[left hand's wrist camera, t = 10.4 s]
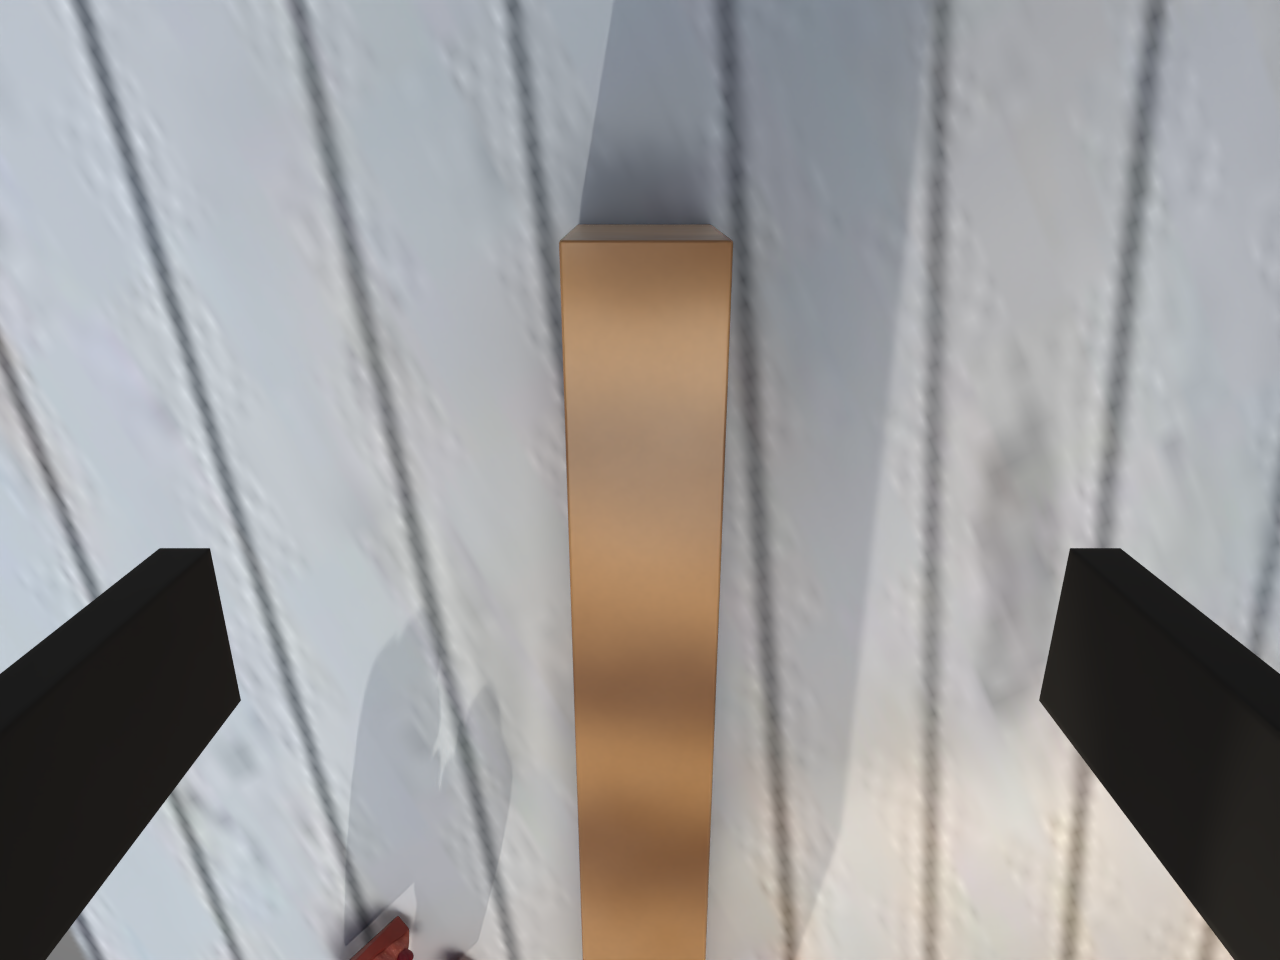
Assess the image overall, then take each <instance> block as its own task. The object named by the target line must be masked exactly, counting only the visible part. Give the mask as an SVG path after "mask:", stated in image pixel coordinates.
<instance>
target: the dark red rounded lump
mask: <svg viewBox="0 0 1280 960" xmlns="http://www.w3.org/2000/svg"><path fill="white" fill-rule="evenodd" d="M408 947H409V928H408V927H407V926H406V925H405V923H404V922H403V921H402V920H401V919H400V917H399V916H397V917H396V918H395V919H394V920H393V921H391V922H390V923H389V924H388V925H387V926H386V927H385V928H384V929H383V930H382V931H380V932H379V933H378V934H377V935H376V936H375V937H374V938H373V939H372V940H371V941H370V942H368V943H367V944H366V945H365V946H364V947H363V948H362V949H361V950H360V951H359V952H358V953H356V954H355V955H354V956H353V957H352V958H351V959H350V960H412V959H413V957H414V955H413V953H412V951H410V950H409V949H408Z"/></svg>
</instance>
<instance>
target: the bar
mask: <svg viewBox="0 0 1280 960" xmlns="http://www.w3.org/2000/svg"><path fill="white" fill-rule="evenodd" d="M559 255H560V285H561V315H562V345H563V376H564V406H565V436H566V466H567V496H568V527H569V557H570V587H571V617H572V647H573V677H574V708H575V738H576V768H577V798H578V828H579V859H580V889H581V919H582V949H583V960H705V958H706V932H707V906H708V880H709V854H710V829H711V803H712V777H713V751H714V725H715V700H716V674H717V648H718V622H719V596H720V571H721V545H722V519H723V493H724V467H725V442H726V416H727V390H728V364H729V338H730V313H731V287H732V261H733V241H732V240H731V239H729V238H728V237H727V236H725V235H724V234H723V233H721V232H720V231H719V230H717V229H716V228H715V227H714V226H712V225H710V224H579V225H577V226H576V227H575V228H574V229H572V230H571V231H570V232H569V233H568V234H567V235H566V236H565V237H564V238H562V239H561V240H560V242H559Z"/></svg>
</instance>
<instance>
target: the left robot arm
mask: <svg viewBox="0 0 1280 960" xmlns="http://www.w3.org/2000/svg"><path fill="white" fill-rule="evenodd" d="M240 701H241V699H240V694H239V689H238V684H237V679H236V674H235V669H234V665H233V660H232V655H231V650H230V645H229V640H228V635H227V630H226V625H225V620H224V615H223V610H222V605H221V601H220V596H219V591H218V586H217V581H216V576H215V571H214V566H213V561H212V556H211V551H210V548H160V549H158V550H157V551H156V552H154V553H153V554H152V555H151V556H149V557H148V558H147V559H146V560H144V561H143V562H142V563H141V564H139V565H138V566H137V567H135V568H134V569H133V570H132V571H130V572H129V573H128V574H127V575H125V576H124V577H123V578H121V579H120V580H119V581H118V582H116V583H115V584H114V585H113V586H111V587H110V588H109V589H108V590H106V591H105V592H104V593H102V594H101V595H100V596H99V597H97V598H96V599H95V600H94V601H92V602H91V603H90V604H88V605H87V606H86V607H85V608H83V609H82V610H81V611H80V612H78V613H77V614H76V615H74V616H73V617H72V618H71V619H69V620H68V621H67V622H66V623H64V624H63V625H62V626H61V627H59V628H58V629H57V630H55V631H54V632H53V633H52V634H50V635H49V636H48V637H47V638H45V639H44V640H43V641H41V642H40V643H39V644H38V645H36V646H35V647H34V648H33V649H31V650H30V651H29V652H28V653H26V654H25V655H24V656H22V657H21V658H20V659H19V660H17V661H16V662H15V663H14V664H12V665H11V666H10V667H8V668H7V669H6V670H5V671H3V672H2V673H1V674H0V960H46V959H47V957H48V956H49V955H50V953H51V952H52V950H53V949H54V948H55V947H56V945H57V944H58V943H59V941H60V940H61V939H62V937H63V936H64V935H65V933H66V932H67V931H68V929H69V928H70V927H71V925H72V924H73V923H74V921H75V920H76V919H77V917H78V916H79V915H80V913H81V912H82V911H83V909H84V908H85V907H86V905H87V904H88V903H89V901H90V900H91V899H92V897H93V896H94V895H95V893H96V892H97V891H98V889H99V888H100V887H101V885H102V884H103V883H104V881H105V880H106V879H107V878H108V876H109V875H110V874H111V872H112V871H113V870H114V868H115V867H116V866H117V864H118V863H119V862H120V860H121V859H122V858H123V856H124V855H125V854H126V852H127V851H128V850H129V848H130V847H131V846H132V844H133V843H134V842H135V840H136V839H137V838H138V836H139V835H140V834H141V832H142V831H143V830H144V828H145V827H146V826H147V824H148V823H149V822H150V820H151V819H152V818H153V816H154V815H155V814H156V812H157V811H158V810H159V808H160V807H161V806H162V804H163V803H164V802H165V800H166V799H167V798H168V796H169V795H170V794H171V792H172V791H173V790H174V788H175V787H176V786H177V785H178V783H179V782H180V781H181V779H182V778H183V777H184V775H185V774H186V773H187V771H188V770H189V769H190V767H191V766H192V765H193V763H194V762H195V761H196V759H197V758H198V757H199V755H200V754H201V753H202V751H203V750H204V749H205V747H206V746H207V745H208V743H209V742H210V741H211V739H212V738H213V737H214V735H215V734H216V733H217V731H218V730H219V729H220V727H221V726H222V725H223V723H224V722H225V721H226V719H227V718H228V717H229V715H230V714H231V713H232V711H233V710H234V709H235V707H236V706H237V705H238V703H239V702H240ZM1039 701H1040V702H1041V703H1042V705H1043V706H1044V707H1045V709H1046V710H1047V711H1048V713H1049V714H1050V715H1051V717H1052V718H1053V719H1054V721H1055V722H1056V723H1057V725H1058V726H1059V727H1060V729H1061V730H1062V731H1063V733H1064V734H1065V735H1066V737H1067V738H1068V739H1069V741H1070V742H1071V743H1072V745H1073V746H1074V747H1075V749H1076V750H1077V751H1078V753H1079V754H1080V755H1081V757H1082V758H1083V759H1084V761H1085V762H1086V763H1087V765H1088V766H1089V767H1090V769H1091V770H1092V771H1093V773H1094V774H1095V775H1096V777H1097V778H1098V779H1099V781H1100V782H1101V783H1102V785H1103V786H1104V787H1105V788H1106V790H1107V791H1108V792H1109V794H1110V795H1111V796H1112V798H1113V799H1114V800H1115V802H1116V803H1117V804H1118V806H1119V807H1120V808H1121V810H1122V811H1123V812H1124V814H1125V815H1126V816H1127V818H1128V819H1129V820H1130V822H1131V823H1132V824H1133V826H1134V827H1135V828H1136V830H1137V831H1138V832H1139V834H1140V835H1141V836H1142V838H1143V839H1144V840H1145V842H1146V843H1147V844H1148V846H1149V847H1150V848H1151V850H1152V851H1153V852H1154V854H1155V855H1156V856H1157V858H1158V859H1159V860H1160V862H1161V863H1162V864H1163V866H1164V867H1165V868H1166V870H1167V871H1168V872H1169V874H1170V875H1171V876H1172V878H1173V879H1174V880H1175V881H1176V883H1177V884H1178V885H1179V887H1180V888H1181V889H1182V891H1183V892H1184V893H1185V895H1186V896H1187V897H1188V899H1189V900H1190V901H1191V903H1192V904H1193V905H1194V907H1195V908H1196V909H1197V911H1198V912H1199V913H1200V915H1201V916H1202V917H1203V919H1204V920H1205V921H1206V923H1207V924H1208V925H1209V927H1210V928H1211V929H1212V931H1213V932H1214V933H1215V935H1216V936H1217V937H1218V939H1219V940H1220V941H1221V943H1222V944H1223V945H1224V947H1225V948H1226V949H1227V951H1228V952H1229V953H1230V955H1231V956H1232V957H1233V959H1234V960H1280V674H1279V673H1278V672H1277V671H1275V670H1274V669H1273V668H1272V667H1270V666H1269V665H1268V664H1266V663H1265V662H1264V661H1263V660H1261V659H1260V658H1259V657H1258V656H1256V655H1255V654H1254V653H1252V652H1251V651H1250V650H1249V649H1247V648H1246V647H1245V646H1244V645H1242V644H1241V643H1240V642H1239V641H1237V640H1236V639H1235V638H1233V637H1232V636H1231V635H1230V634H1228V633H1227V632H1226V631H1225V630H1223V629H1222V628H1221V627H1219V626H1218V625H1217V624H1216V623H1214V622H1213V621H1212V620H1211V619H1209V618H1208V617H1207V616H1205V615H1204V614H1203V613H1202V612H1200V611H1199V610H1198V609H1197V608H1195V607H1194V606H1193V605H1192V604H1190V603H1189V602H1188V601H1186V600H1185V599H1184V598H1183V597H1181V596H1180V595H1179V594H1178V593H1176V592H1175V591H1174V590H1172V589H1171V588H1170V587H1169V586H1167V585H1166V584H1165V583H1164V582H1162V581H1161V580H1160V579H1159V578H1157V577H1156V576H1155V575H1153V574H1152V573H1151V572H1150V571H1148V570H1147V569H1146V568H1145V567H1143V566H1142V565H1141V564H1139V563H1138V562H1137V561H1136V560H1134V559H1133V558H1132V557H1131V556H1129V555H1128V554H1127V553H1126V552H1124V551H1123V550H1122V549H1120V548H1070V551H1069V556H1068V561H1067V566H1066V571H1065V576H1064V581H1063V586H1062V591H1061V596H1060V601H1059V605H1058V610H1057V615H1056V620H1055V625H1054V630H1053V635H1052V640H1051V645H1050V650H1049V655H1048V660H1047V665H1046V669H1045V674H1044V679H1043V684H1042V689H1041V694H1040V699H1039Z"/></svg>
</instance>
